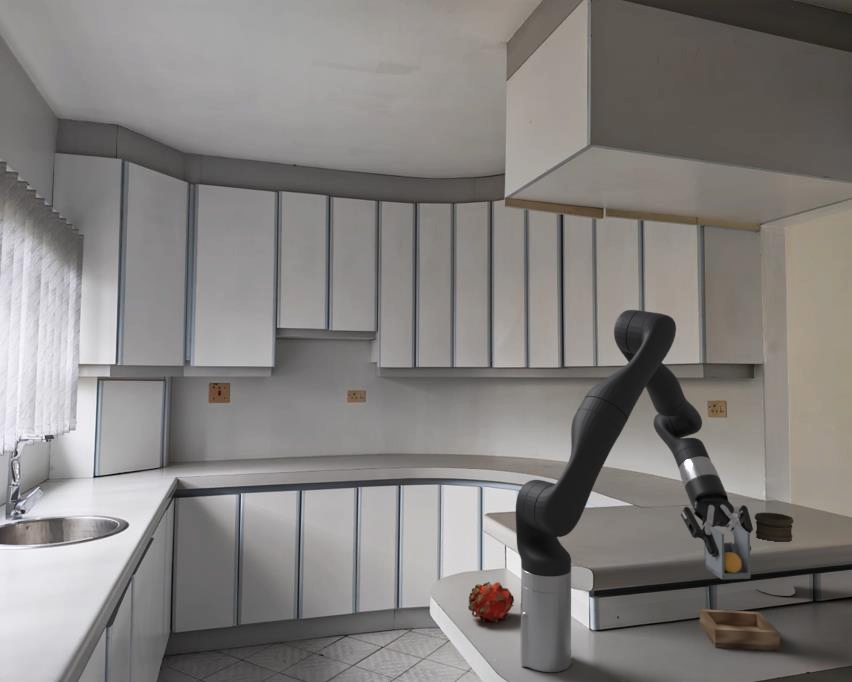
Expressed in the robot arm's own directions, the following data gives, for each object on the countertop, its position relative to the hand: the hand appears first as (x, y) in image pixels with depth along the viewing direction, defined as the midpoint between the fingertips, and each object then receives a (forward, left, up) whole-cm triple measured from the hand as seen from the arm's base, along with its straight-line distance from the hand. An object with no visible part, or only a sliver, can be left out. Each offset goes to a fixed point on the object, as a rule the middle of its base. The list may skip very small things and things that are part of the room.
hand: (731, 554), depth 130 cm
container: (+20, +31, -18) cm, 41 cm away
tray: (+2, +2, -17) cm, 18 cm away
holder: (0, +2, -4) cm, 5 cm away
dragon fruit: (-48, +5, -18) cm, 51 cm away
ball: (0, 0, -2) cm, 2 cm away
